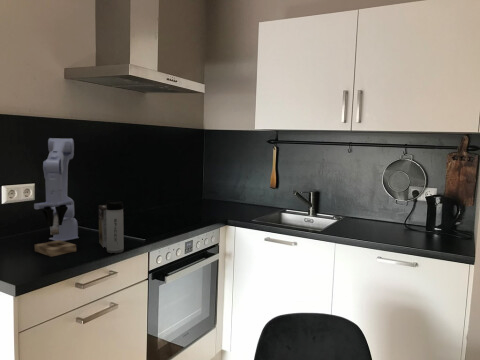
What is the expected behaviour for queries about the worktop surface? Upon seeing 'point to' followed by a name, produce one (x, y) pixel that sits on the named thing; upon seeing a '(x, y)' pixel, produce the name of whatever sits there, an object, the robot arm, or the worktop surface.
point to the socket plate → (55, 248)
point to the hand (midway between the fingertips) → (54, 225)
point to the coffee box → (102, 225)
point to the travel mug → (114, 226)
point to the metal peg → (55, 225)
